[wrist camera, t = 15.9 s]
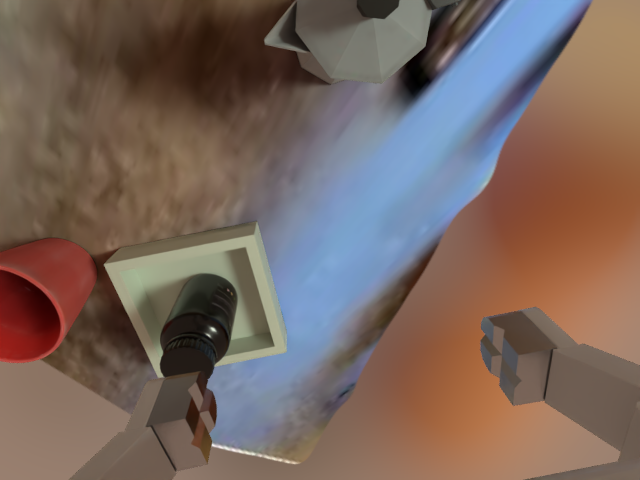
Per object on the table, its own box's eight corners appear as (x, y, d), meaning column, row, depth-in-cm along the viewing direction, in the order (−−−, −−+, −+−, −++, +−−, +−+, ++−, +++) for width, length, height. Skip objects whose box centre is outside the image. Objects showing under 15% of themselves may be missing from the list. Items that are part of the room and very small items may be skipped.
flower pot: (2, 288, 42) (-74, 343, 33) (21, 208, 39) (-59, 245, 30) (96, 319, 45) (49, 377, 36) (122, 246, 41) (77, 292, 32)
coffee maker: (287, 103, 37) (288, 120, 20) (256, 5, 33) (225, -72, 17) (429, 55, 36) (550, 33, 19) (413, -50, 32) (543, -187, 16)
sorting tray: (119, 248, 41) (103, 264, 38) (257, 221, 41) (254, 234, 38) (168, 355, 48) (158, 377, 44) (286, 331, 48) (286, 352, 44)
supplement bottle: (203, 328, 45) (177, 406, 34) (169, 287, 43) (128, 359, 32) (250, 304, 44) (238, 377, 34) (218, 261, 42) (193, 325, 31)
